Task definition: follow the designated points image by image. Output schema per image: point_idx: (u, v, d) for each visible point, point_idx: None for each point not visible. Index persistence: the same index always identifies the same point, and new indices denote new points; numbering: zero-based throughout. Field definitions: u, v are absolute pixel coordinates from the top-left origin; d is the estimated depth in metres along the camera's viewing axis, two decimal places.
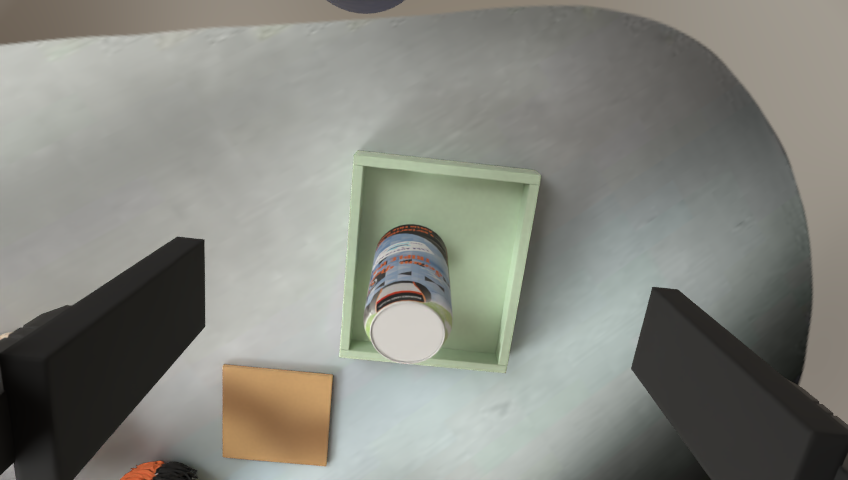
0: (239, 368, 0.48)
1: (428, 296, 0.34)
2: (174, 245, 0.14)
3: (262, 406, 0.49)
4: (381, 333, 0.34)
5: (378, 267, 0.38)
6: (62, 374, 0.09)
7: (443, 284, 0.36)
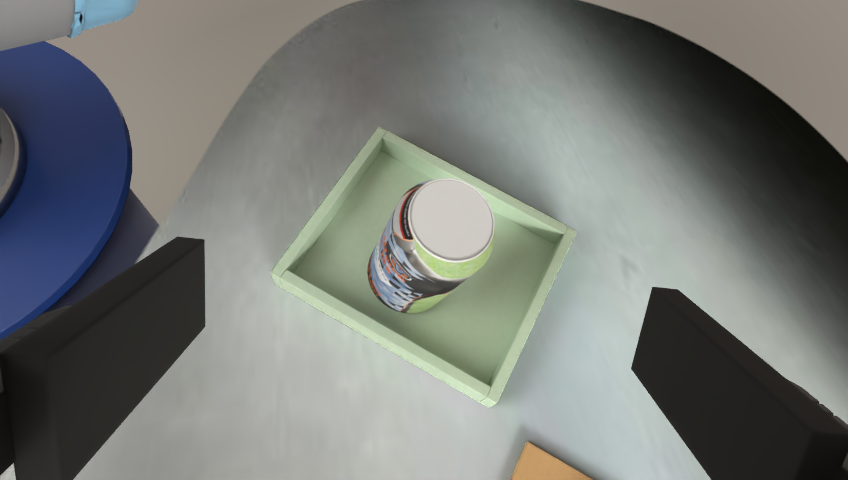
0: None
1: (419, 185, 0.30)
2: (173, 245, 0.14)
3: None
4: (440, 244, 0.28)
5: (384, 264, 0.32)
6: (62, 374, 0.09)
7: None
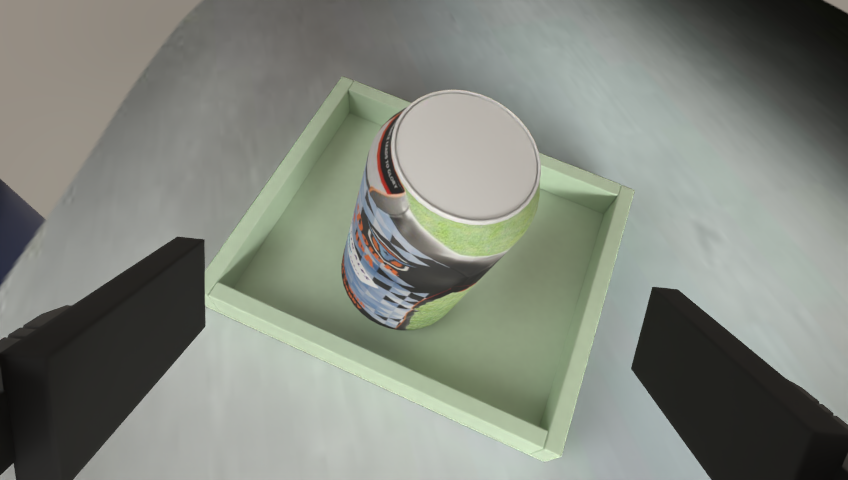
0: None
1: None
2: (174, 244, 0.14)
3: None
4: (453, 195, 0.16)
5: (362, 252, 0.20)
6: (62, 374, 0.09)
7: None
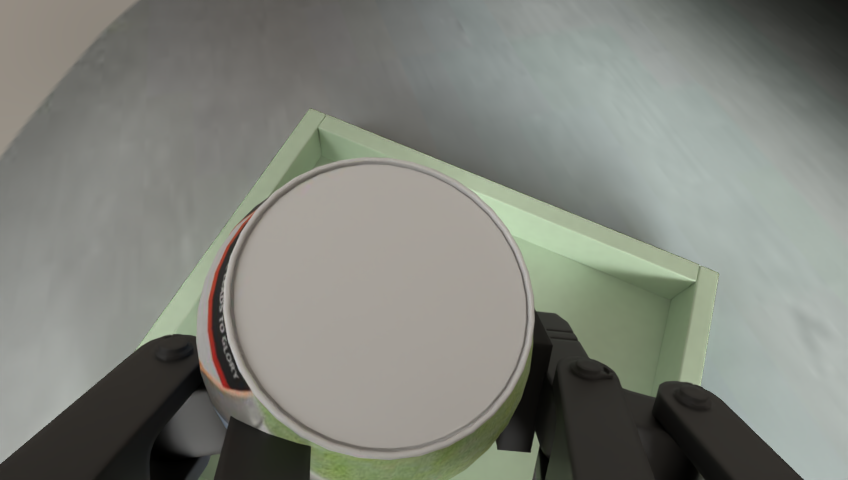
0: None
1: None
2: None
3: None
4: (354, 394, 0.07)
5: None
6: None
7: None
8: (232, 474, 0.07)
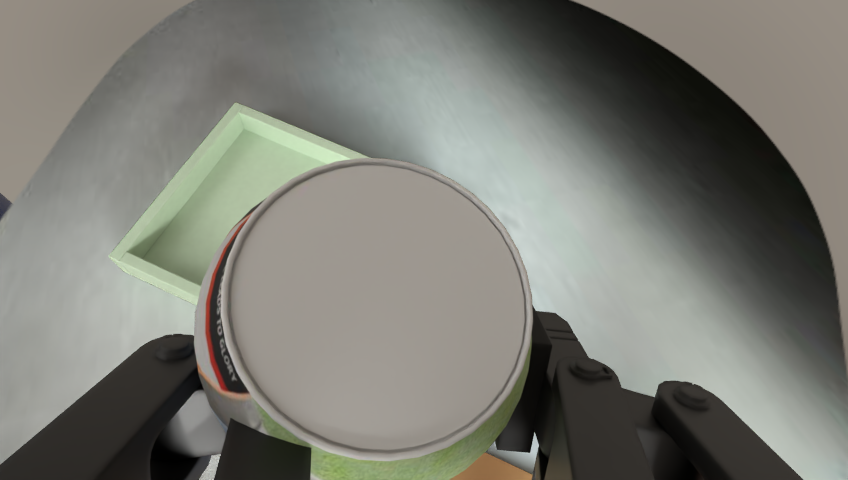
0: None
1: None
2: None
3: None
4: (353, 397, 0.07)
5: None
6: None
7: None
8: (233, 474, 0.07)
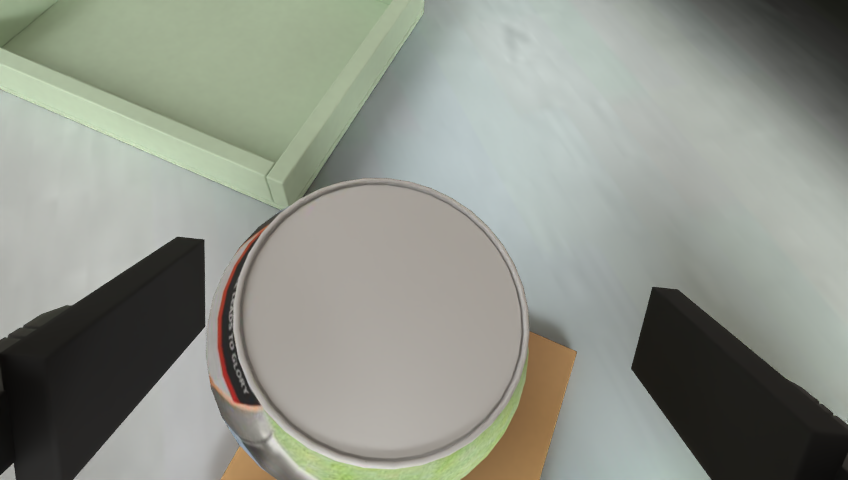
0: (238, 454, 0.18)
1: None
2: (173, 244, 0.14)
3: None
4: (359, 408, 0.08)
5: None
6: (62, 374, 0.09)
7: None
8: None
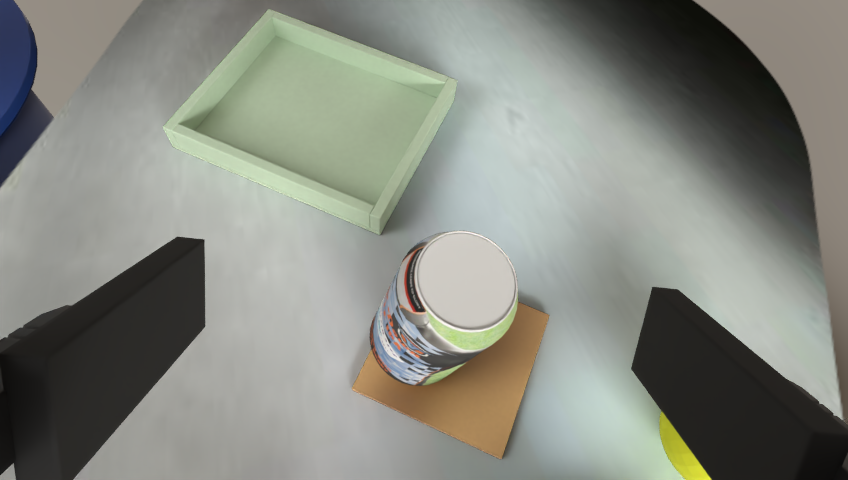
0: (364, 367, 0.33)
1: (421, 244, 0.25)
2: (174, 245, 0.14)
3: None
4: (459, 312, 0.23)
5: (392, 339, 0.27)
6: (62, 374, 0.09)
7: None
8: None
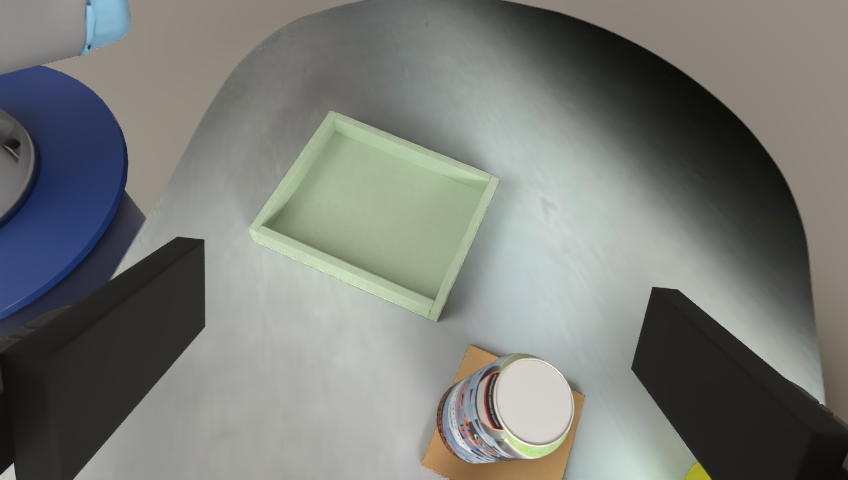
0: (430, 445, 0.39)
1: (495, 368, 0.31)
2: (173, 245, 0.14)
3: None
4: (530, 430, 0.29)
5: (466, 437, 0.33)
6: (62, 374, 0.09)
7: None
8: None
